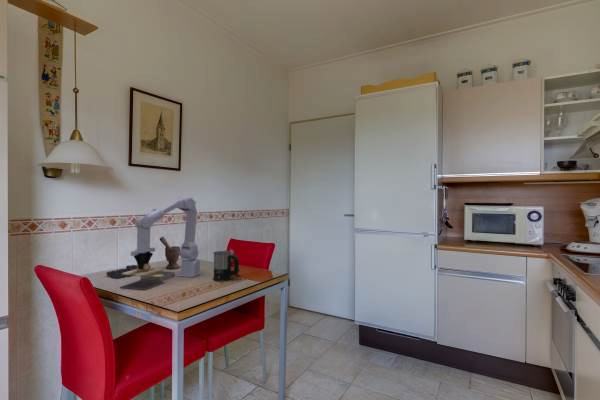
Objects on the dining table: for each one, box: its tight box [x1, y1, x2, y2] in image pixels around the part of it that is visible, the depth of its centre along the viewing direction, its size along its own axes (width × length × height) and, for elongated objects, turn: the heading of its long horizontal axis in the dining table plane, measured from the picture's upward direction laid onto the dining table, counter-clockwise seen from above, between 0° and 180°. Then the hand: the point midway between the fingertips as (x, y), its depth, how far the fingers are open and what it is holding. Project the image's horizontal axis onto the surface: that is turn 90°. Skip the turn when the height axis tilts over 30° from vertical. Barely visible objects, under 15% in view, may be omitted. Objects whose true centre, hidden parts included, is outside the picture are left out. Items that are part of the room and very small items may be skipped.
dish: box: [140, 270, 176, 282], centre depth 168 cm, size 12×12×2 cm
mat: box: [119, 279, 165, 291], centre depth 153 cm, size 14×14×1 cm
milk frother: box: [212, 250, 240, 282], centre depth 171 cm, size 14×16×15 cm
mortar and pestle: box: [159, 236, 181, 270], centre depth 190 cm, size 12×9×20 cm
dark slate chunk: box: [106, 264, 151, 280], centre depth 176 cm, size 15×22×5 cm
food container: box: [229, 248, 235, 267], centre depth 200 cm, size 12×6×10 cm, turn 148°
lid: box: [122, 263, 164, 277], centre depth 153 cm, size 13×13×4 cm
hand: (143, 268), depth 153 cm, fingers closed on lid, 2 cm apart
